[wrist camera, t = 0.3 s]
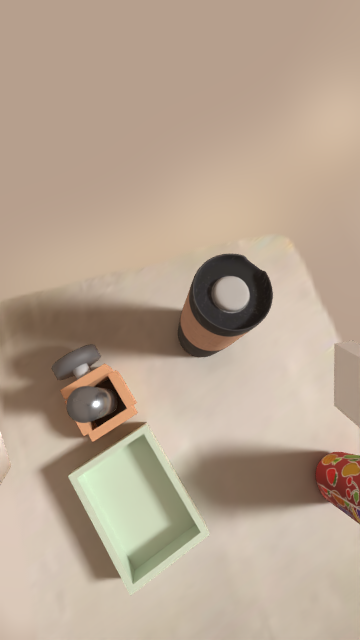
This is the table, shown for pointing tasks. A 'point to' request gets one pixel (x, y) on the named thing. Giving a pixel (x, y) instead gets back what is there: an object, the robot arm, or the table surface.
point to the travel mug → (223, 304)
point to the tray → (138, 507)
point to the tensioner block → (79, 367)
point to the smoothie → (341, 482)
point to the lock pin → (91, 403)
